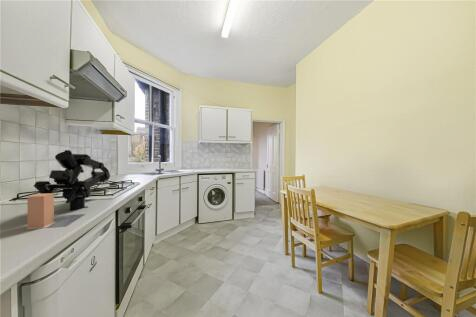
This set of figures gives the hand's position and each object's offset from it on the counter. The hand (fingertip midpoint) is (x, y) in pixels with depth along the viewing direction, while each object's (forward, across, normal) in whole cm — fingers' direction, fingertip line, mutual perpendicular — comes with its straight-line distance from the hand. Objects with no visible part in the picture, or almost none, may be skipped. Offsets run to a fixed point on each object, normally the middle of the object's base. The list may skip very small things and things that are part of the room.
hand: (53, 203), depth 76 cm
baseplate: (+7, +3, +4) cm, 8 cm away
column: (+9, 0, 0) cm, 9 cm away
